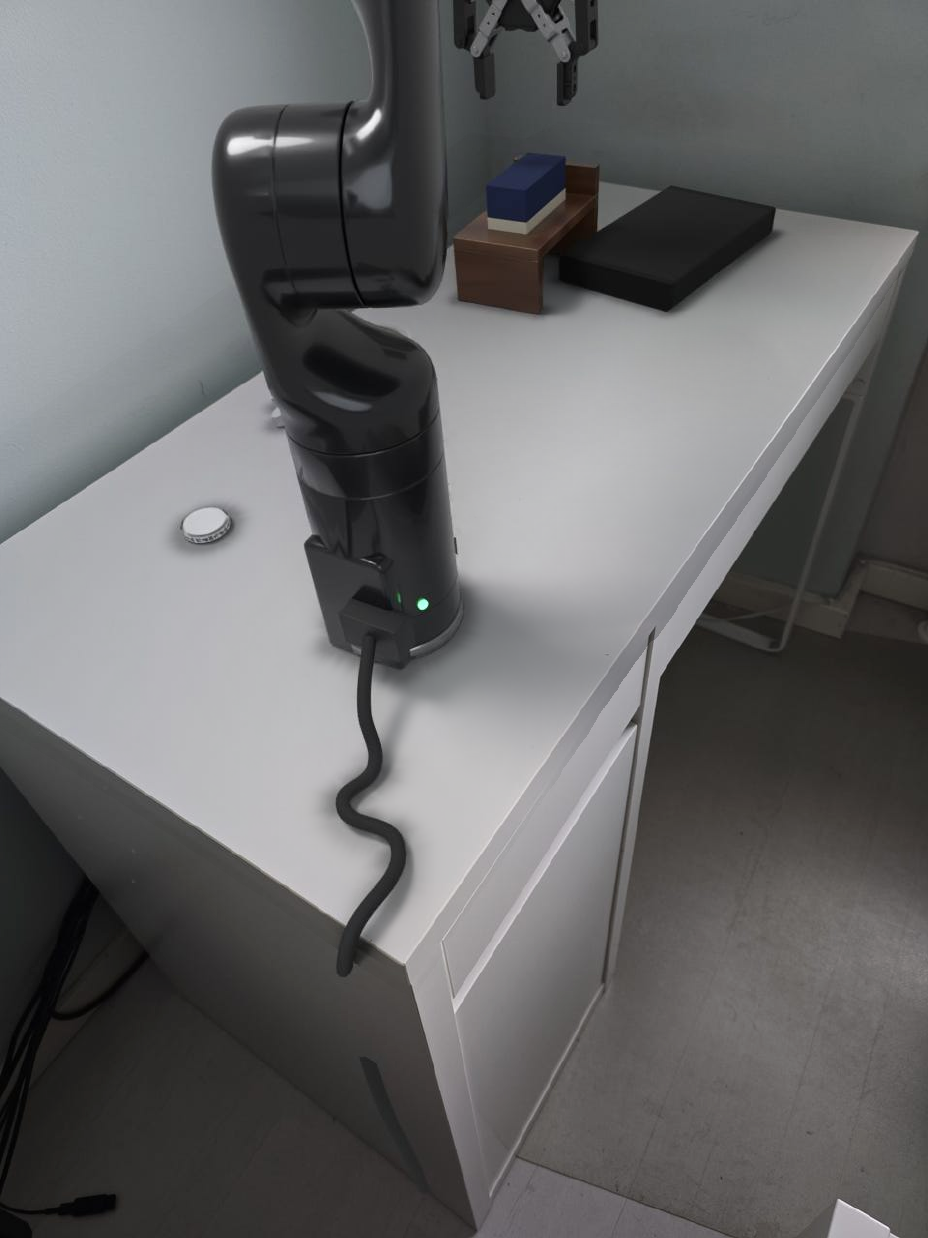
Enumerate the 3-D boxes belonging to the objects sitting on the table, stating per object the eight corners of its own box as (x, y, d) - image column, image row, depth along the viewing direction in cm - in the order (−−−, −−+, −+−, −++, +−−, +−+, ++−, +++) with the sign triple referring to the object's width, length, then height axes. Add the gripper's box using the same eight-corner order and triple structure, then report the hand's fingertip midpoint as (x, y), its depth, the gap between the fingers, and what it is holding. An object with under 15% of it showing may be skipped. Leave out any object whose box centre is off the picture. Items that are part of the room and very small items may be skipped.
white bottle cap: (234, 510, 74) (232, 504, 73) (225, 541, 71) (223, 535, 70) (188, 512, 74) (186, 506, 73) (177, 543, 71) (174, 538, 71)
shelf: (538, 314, 94) (537, 219, 87) (457, 300, 98) (450, 207, 90) (596, 253, 103) (599, 163, 96) (520, 242, 107) (518, 154, 100)
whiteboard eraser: (526, 234, 92) (525, 189, 88) (487, 229, 93) (485, 184, 90) (565, 199, 97) (566, 155, 94) (528, 194, 99) (527, 151, 96)
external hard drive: (558, 280, 99) (559, 254, 97) (667, 209, 110) (669, 184, 108) (668, 312, 92) (670, 284, 90) (772, 232, 103) (776, 206, 101)
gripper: (429, -101, 76) (445, 106, 88) (579, -104, 71) (576, 117, 82) (470, -114, 81) (480, 85, 92) (614, -118, 75) (606, 94, 87)
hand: (525, 100), depth 87 cm, fingers open, 8 cm apart
